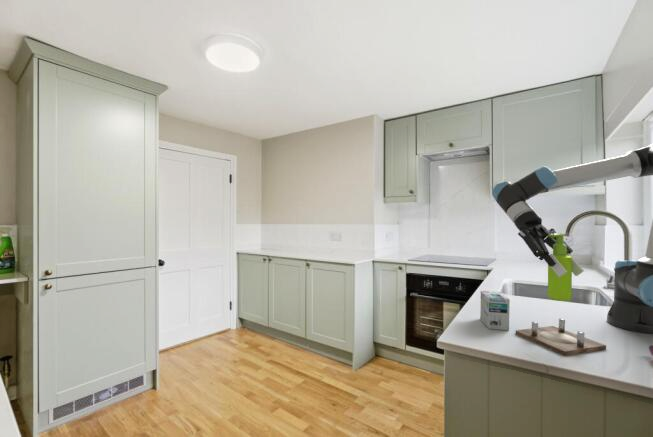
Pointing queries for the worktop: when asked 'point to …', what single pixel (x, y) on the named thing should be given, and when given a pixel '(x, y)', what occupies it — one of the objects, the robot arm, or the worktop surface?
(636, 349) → the worktop surface
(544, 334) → the locator board
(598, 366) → the worktop surface
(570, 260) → the soap dispenser
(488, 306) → the light bulb box
